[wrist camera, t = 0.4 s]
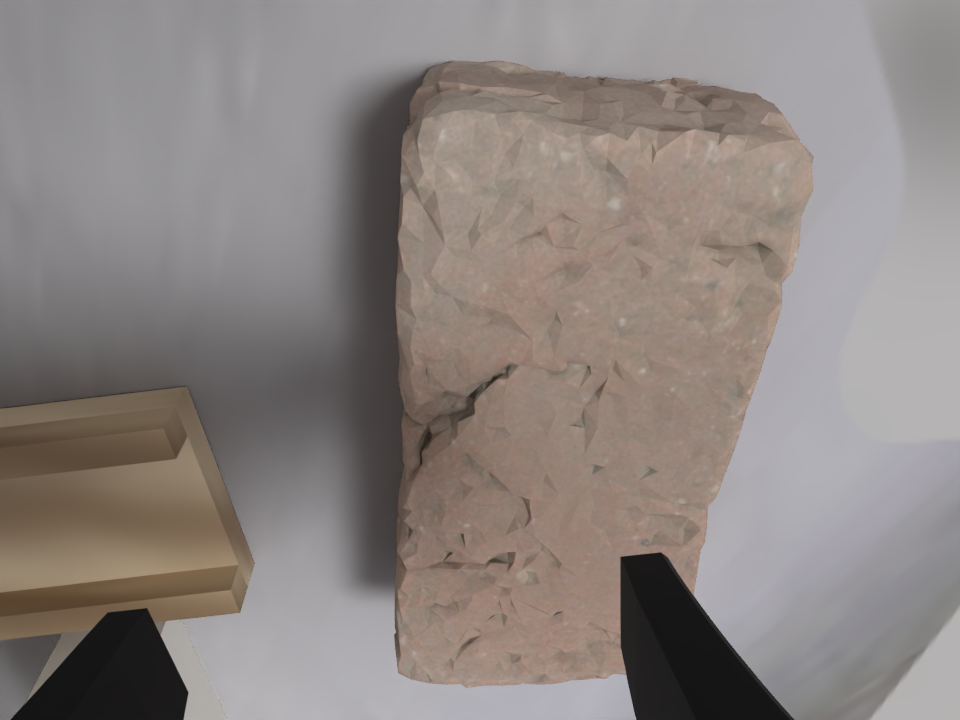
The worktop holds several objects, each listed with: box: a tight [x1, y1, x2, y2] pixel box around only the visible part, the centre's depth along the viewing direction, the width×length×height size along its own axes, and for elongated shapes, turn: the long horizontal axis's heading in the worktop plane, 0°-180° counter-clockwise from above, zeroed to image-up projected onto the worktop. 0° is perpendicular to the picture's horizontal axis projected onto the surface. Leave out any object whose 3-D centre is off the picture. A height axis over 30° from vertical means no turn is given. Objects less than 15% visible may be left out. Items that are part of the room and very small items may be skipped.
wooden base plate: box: [0, 386, 255, 640], centre depth 21 cm, size 7×11×2 cm, turn 96°
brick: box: [394, 61, 813, 688], centre depth 19 cm, size 17×8×5 cm, turn 177°
